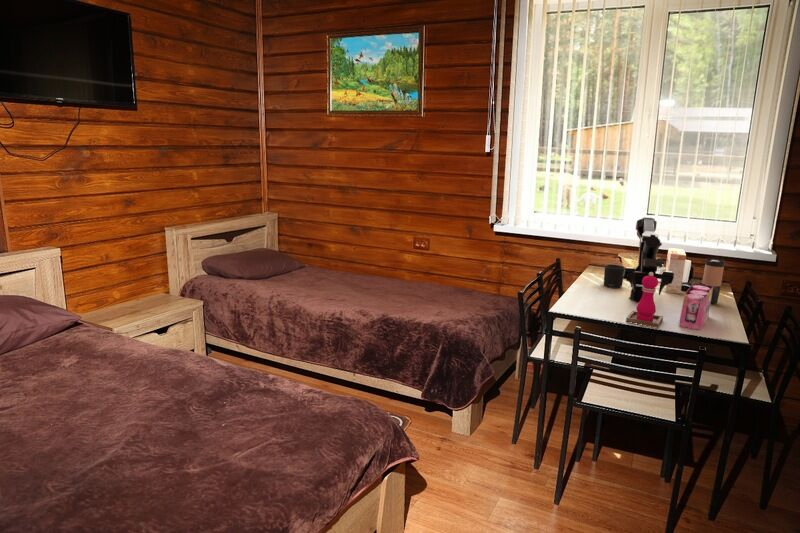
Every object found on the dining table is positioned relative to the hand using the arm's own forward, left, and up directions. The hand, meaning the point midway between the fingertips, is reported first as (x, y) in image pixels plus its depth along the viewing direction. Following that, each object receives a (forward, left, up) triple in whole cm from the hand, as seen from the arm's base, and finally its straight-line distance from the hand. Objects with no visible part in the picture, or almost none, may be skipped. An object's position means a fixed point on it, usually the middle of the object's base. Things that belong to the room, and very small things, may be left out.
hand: (647, 293), depth 227 cm
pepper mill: (+1, +2, -11) cm, 11 cm away
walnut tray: (+2, +3, -11) cm, 12 cm away
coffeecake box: (-44, -40, -11) cm, 61 cm away
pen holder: (-17, -49, -11) cm, 54 cm away
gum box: (-20, +5, -11) cm, 23 cm away
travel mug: (-47, -18, -11) cm, 52 cm away
